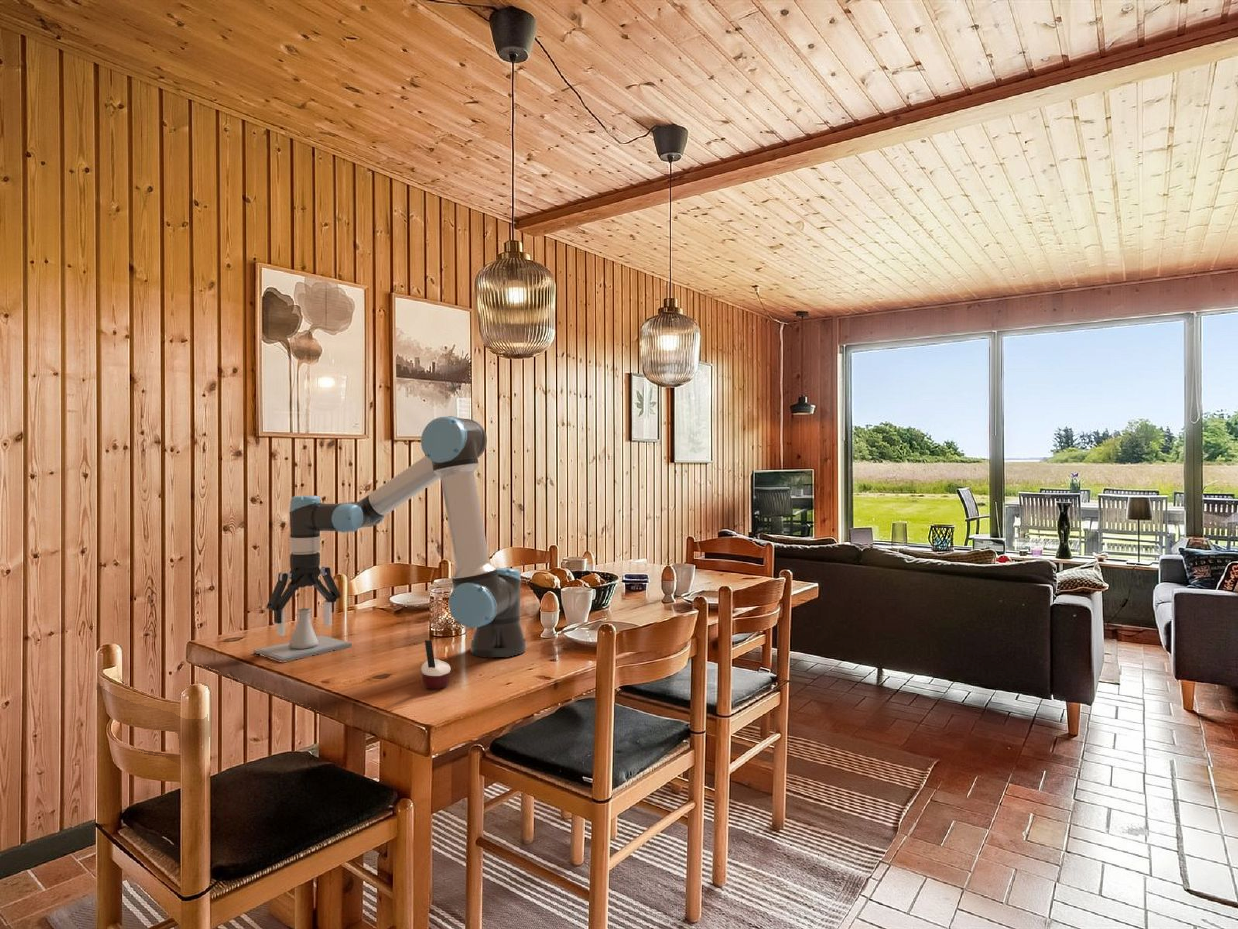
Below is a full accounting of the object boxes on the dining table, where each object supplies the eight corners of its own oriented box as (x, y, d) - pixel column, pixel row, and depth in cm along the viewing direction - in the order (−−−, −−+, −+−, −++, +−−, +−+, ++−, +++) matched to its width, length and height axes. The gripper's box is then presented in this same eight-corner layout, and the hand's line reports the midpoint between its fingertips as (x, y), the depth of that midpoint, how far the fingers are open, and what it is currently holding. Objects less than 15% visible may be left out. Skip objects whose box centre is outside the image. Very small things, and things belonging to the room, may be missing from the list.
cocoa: (439, 682, 169) (440, 631, 169) (459, 685, 165) (460, 634, 166) (409, 691, 160) (410, 638, 161) (429, 695, 157) (430, 641, 158)
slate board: (351, 646, 196) (351, 642, 196) (282, 663, 180) (282, 659, 180) (322, 638, 204) (322, 634, 204) (253, 653, 188) (253, 649, 188)
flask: (324, 644, 194) (324, 608, 193) (302, 651, 187) (302, 613, 187) (305, 641, 197) (305, 605, 197) (283, 647, 190) (283, 610, 190)
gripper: (337, 546, 204) (337, 619, 204) (252, 556, 183) (252, 637, 184) (353, 548, 200) (353, 623, 200) (267, 558, 179) (267, 641, 179)
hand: (305, 630), depth 192 cm, fingers open, 13 cm apart
